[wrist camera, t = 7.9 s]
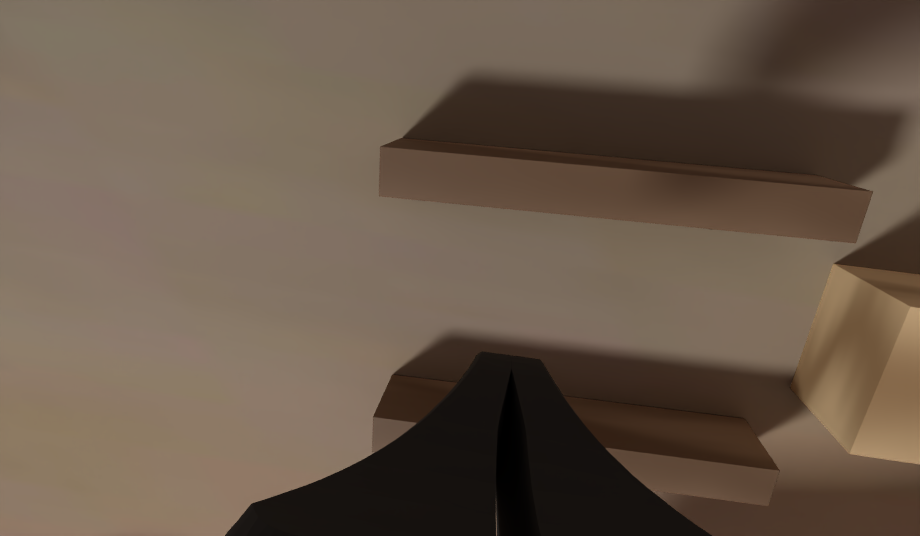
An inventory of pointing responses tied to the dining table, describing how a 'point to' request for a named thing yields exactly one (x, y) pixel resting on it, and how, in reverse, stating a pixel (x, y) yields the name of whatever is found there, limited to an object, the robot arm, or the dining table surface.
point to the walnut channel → (641, 200)
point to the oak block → (866, 362)
